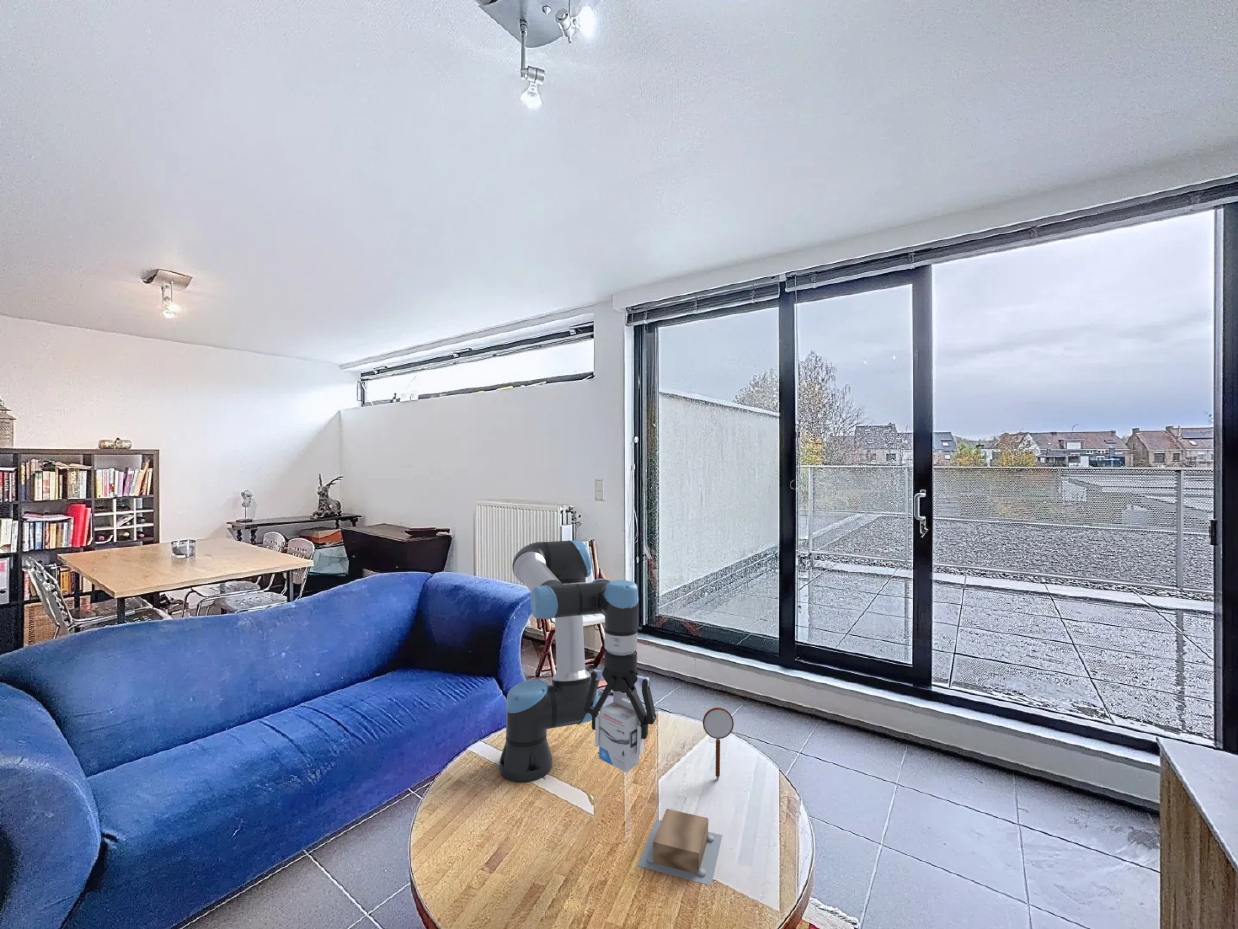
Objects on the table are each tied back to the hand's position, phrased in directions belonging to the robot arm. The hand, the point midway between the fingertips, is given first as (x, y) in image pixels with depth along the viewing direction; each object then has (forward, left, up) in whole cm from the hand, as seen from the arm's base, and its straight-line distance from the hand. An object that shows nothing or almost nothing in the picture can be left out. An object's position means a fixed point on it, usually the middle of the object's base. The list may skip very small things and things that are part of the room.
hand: (619, 747), depth 121 cm
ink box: (0, 0, -3) cm, 3 cm away
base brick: (+14, +3, -22) cm, 26 cm away
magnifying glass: (+17, +35, -23) cm, 46 cm away
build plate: (+14, +3, -23) cm, 27 cm away
